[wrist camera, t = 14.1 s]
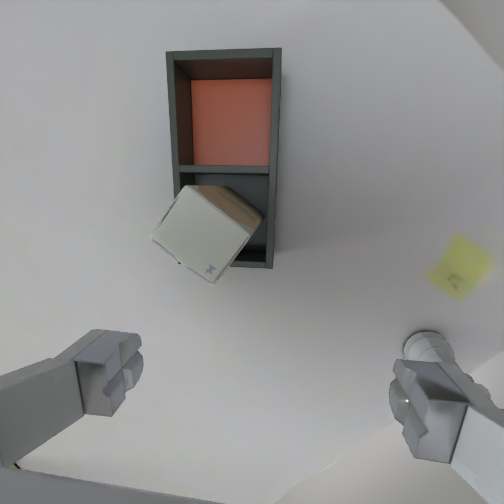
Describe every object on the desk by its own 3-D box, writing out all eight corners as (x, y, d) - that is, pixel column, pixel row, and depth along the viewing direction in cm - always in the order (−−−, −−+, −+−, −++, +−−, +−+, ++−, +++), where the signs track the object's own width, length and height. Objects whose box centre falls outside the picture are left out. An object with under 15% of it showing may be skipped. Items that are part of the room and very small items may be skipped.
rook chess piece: (397, 335, 28) (441, 392, 20) (441, 324, 27) (504, 379, 19) (406, 368, 29) (452, 435, 21) (449, 359, 28) (513, 425, 20)
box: (266, 216, 26) (256, 239, 15) (240, 248, 27) (214, 291, 16) (224, 182, 25) (183, 182, 15) (200, 217, 26) (146, 239, 16)
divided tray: (281, 73, 23) (281, 47, 18) (273, 255, 27) (272, 268, 23) (186, 75, 24) (165, 51, 19) (193, 251, 28) (177, 264, 24)
